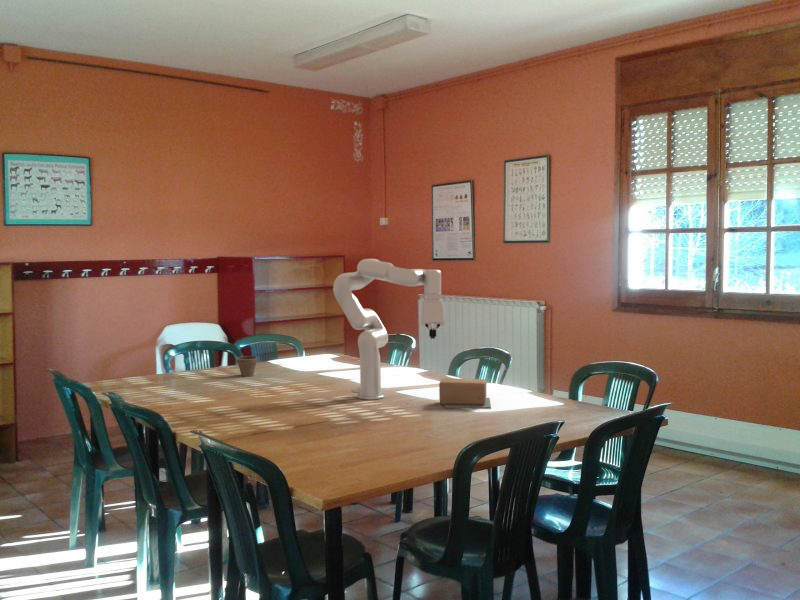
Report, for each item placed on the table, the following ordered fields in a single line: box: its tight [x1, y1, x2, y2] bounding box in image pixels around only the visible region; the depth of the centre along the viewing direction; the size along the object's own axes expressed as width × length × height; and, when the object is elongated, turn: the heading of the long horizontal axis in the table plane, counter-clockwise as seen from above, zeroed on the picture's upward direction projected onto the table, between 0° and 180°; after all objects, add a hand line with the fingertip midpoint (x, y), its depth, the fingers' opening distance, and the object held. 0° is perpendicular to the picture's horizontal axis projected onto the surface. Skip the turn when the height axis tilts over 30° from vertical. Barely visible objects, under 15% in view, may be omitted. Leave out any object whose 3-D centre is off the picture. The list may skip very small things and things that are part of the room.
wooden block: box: [438, 378, 487, 405], centre depth 341 cm, size 10×10×20 cm
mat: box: [444, 397, 492, 409], centre depth 343 cm, size 20×20×1 cm
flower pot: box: [236, 355, 259, 378], centre depth 420 cm, size 12×11×10 cm
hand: (432, 338), depth 343 cm, fingers closed
